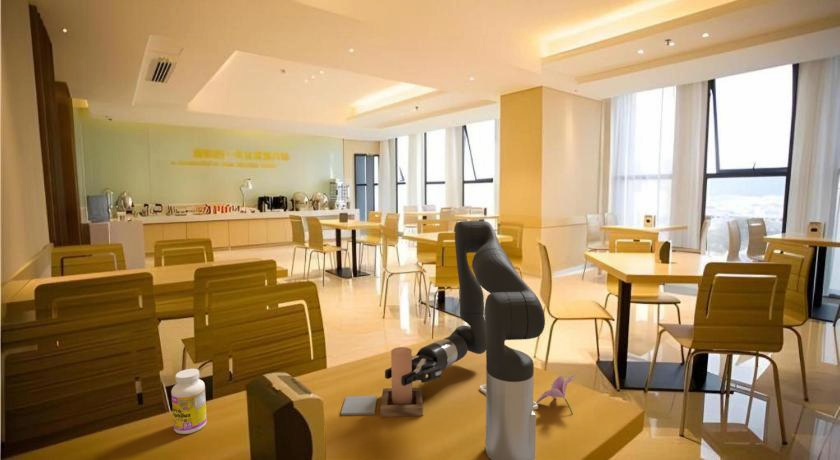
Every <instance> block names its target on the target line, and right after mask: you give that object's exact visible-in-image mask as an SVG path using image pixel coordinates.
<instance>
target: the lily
mask: <svg viewBox="0 0 840 460" xmlns="http://www.w3.org/2000/svg"><path fill="white" fill-rule="evenodd" d="M577 374H578V372H576V373H574V374H572V375H571V376H569V377H567V378H566V379H565V377H564V376H563V375H559V376H557V377H556V379H554V381H552V383H550V385H551V386H550V387H551V388H550V389H549V390H546V391H545V392H544V393H542V394H541V395H540V396H539V399H538V400H537V401H535V402H536V403H537V404H539V403H540V402H541V401H542V400H543V399H546V398H547V397H551V398H553V399H556V398H562V399H564V401H565V403H566V405H567V406H568V408H569V409H568V410H570V413H571V415H574V413H573V410H572V408H571V407H570V404H569V402H568V401H567V399H566V390H567V387H568V384H569V383H571V382H573V381H574V380H575V379H574V377H575V376H576V375H577Z"/></svg>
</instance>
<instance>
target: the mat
mask: <svg viewBox="0 0 840 460" xmlns="http://www.w3.org/2000/svg"><path fill="white" fill-rule="evenodd" d="M377 401H378V395H360V396H359V395H357V396H355V395H354V396H351V395H350V396H347V395H346V396H345V398H344V401H343V405H342V407H341V411H340V416H364V415H365V416H369V415H375V414H376V409H377Z"/></svg>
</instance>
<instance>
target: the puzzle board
mask: <svg viewBox="0 0 840 460" xmlns="http://www.w3.org/2000/svg"><path fill="white" fill-rule="evenodd" d="M422 393H423V392H422V387H412V399H415V404H412V405H392V404H389V399H392V387H388V388H387V387H385V388H382V393H381V400H380V401H381V402H380V411H379V412H380V414H379V415H380V417H382V418H384V417H385V418H386V417H387V418H388V417H422V416H424V415H423V414H424V410H423V409H424V407H423V394H422Z"/></svg>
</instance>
